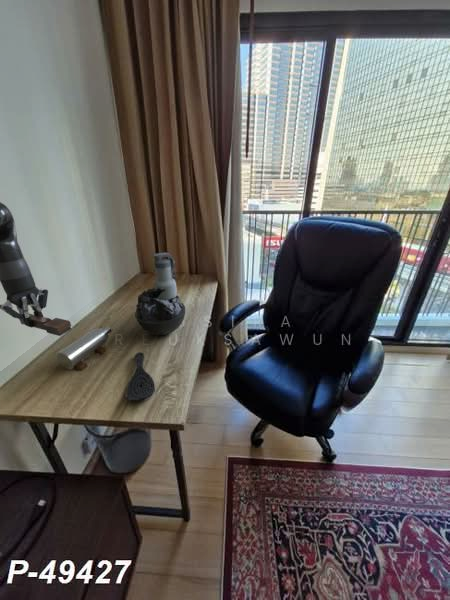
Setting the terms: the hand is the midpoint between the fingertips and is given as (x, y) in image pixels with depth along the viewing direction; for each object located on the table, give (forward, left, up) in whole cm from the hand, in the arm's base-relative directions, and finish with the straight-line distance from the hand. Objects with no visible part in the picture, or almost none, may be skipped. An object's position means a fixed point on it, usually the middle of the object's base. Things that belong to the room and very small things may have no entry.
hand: (35, 324), depth 81 cm
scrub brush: (+4, 0, 0) cm, 4 cm away
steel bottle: (+8, +8, -17) cm, 21 cm away
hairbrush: (+33, +5, -17) cm, 38 cm away
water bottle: (+17, +48, -17) cm, 54 cm away
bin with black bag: (+25, +31, -17) cm, 44 cm away
